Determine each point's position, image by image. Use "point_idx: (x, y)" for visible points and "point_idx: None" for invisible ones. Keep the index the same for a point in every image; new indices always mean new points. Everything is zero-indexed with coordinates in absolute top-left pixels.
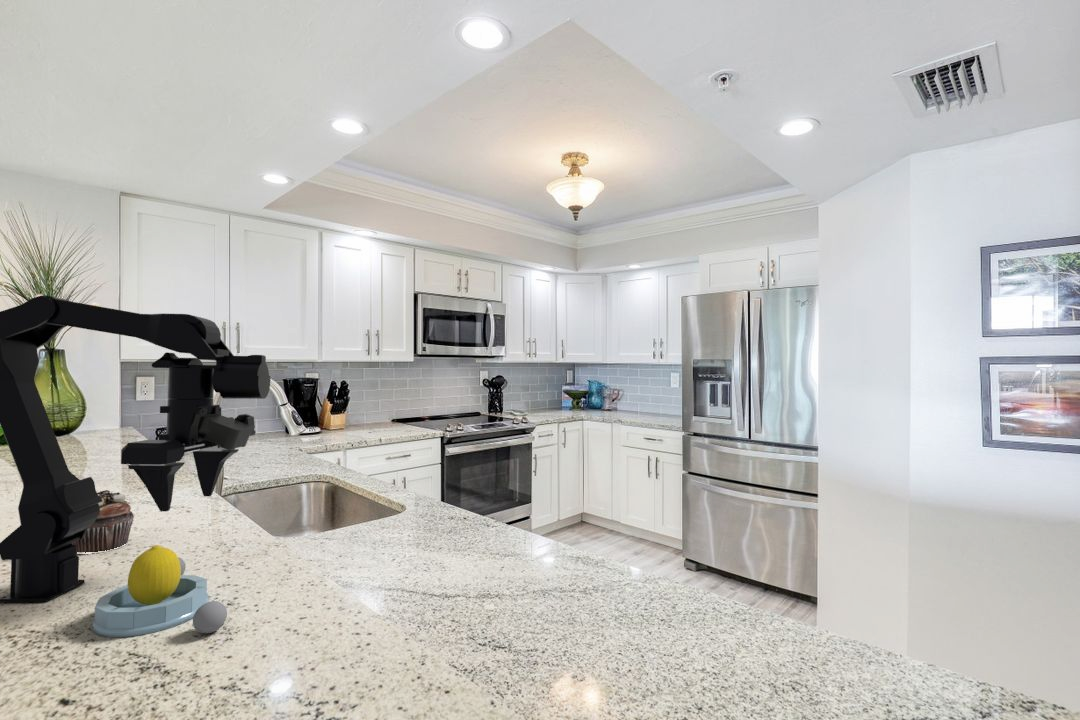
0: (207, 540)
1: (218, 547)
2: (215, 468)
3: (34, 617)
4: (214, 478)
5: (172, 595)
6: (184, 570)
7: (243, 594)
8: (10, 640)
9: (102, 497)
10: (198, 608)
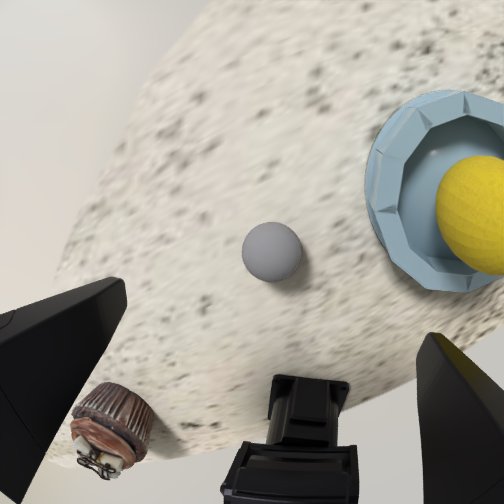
0: (61, 278)
1: (84, 240)
2: (13, 352)
3: (404, 364)
4: (59, 314)
5: (405, 181)
6: (266, 223)
7: (378, 35)
8: (473, 343)
9: (101, 464)
10: None
